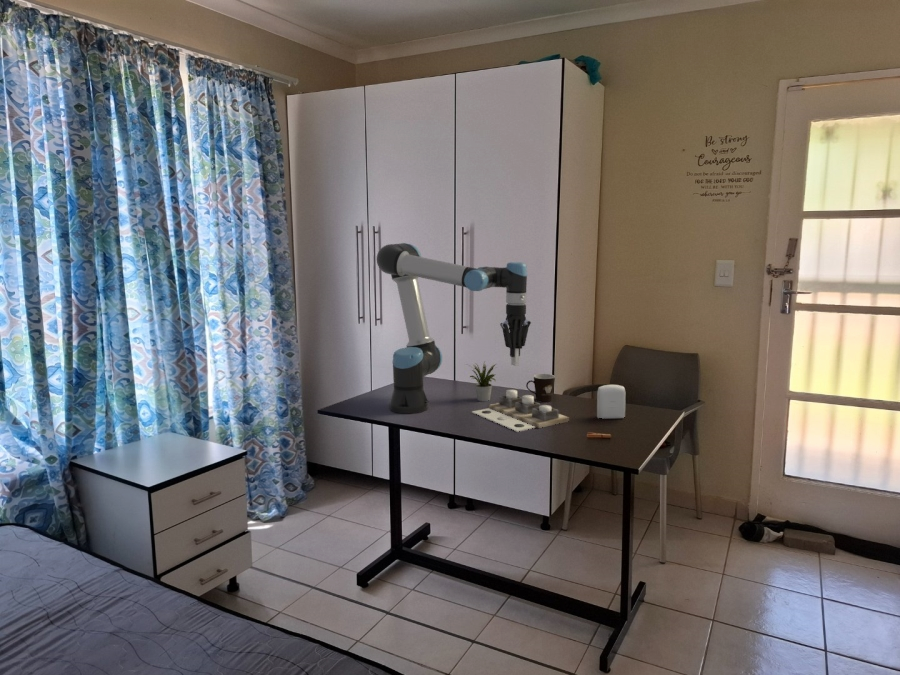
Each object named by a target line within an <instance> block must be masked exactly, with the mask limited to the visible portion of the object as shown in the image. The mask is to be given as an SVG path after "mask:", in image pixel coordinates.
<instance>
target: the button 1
mask: <svg viewBox="0 0 900 675" xmlns="http://www.w3.org/2000/svg"><path fill="white" fill-rule="evenodd" d="M505 396H506V398H507V399H510V400H512V399H517V396H518V390H517V389H506V390H505Z"/></svg>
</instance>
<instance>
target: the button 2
mask: <svg viewBox="0 0 900 675" xmlns="http://www.w3.org/2000/svg"><path fill="white" fill-rule="evenodd" d="M552 408H553V407H552V405H547V404H541V406H539V410H540V411H542V412H548V411H552Z"/></svg>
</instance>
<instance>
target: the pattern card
mask: <svg viewBox="0 0 900 675" xmlns="http://www.w3.org/2000/svg"><path fill="white" fill-rule="evenodd" d="M471 414H474V415H476V414H477V415H476V416H478V415H479V416H478V417H480V418H483V419H485V418H486V419H485V420H487V421H490V422H492V421H493V422H492V423H495V424H497V423H498V425H499V424H500V425H499V426H502V427H504V426H505V427H504V428H506V427H507V429H509V430H511V429H512V430H511V431H513V430H514V432H516V433H519V431H520V432H524V431H529V430H532V428H533V429H535V428H536V427H535V426H532V425H530V424H527V423H525V422H522V421H520V420H517V419H515V418H512V417H510V416H507V415H505V414H502V413H500V412H497V411H495V410H492V409H490V407H488V408H487V407H486V408H483V409H477V410H472V411H471ZM528 429H529V430H528Z"/></svg>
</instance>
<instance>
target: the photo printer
mask: <svg viewBox="0 0 900 675" xmlns="http://www.w3.org/2000/svg"><path fill="white" fill-rule="evenodd" d="M596 394H597V395H596V396H597V397H596V398H597V400H596V417H597V419H599V418H602V419H625V418H624V417H626V389H625V387H624V386H623V385H619V384H606V385H601V386H599V387H598V388H597V393H596Z"/></svg>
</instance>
